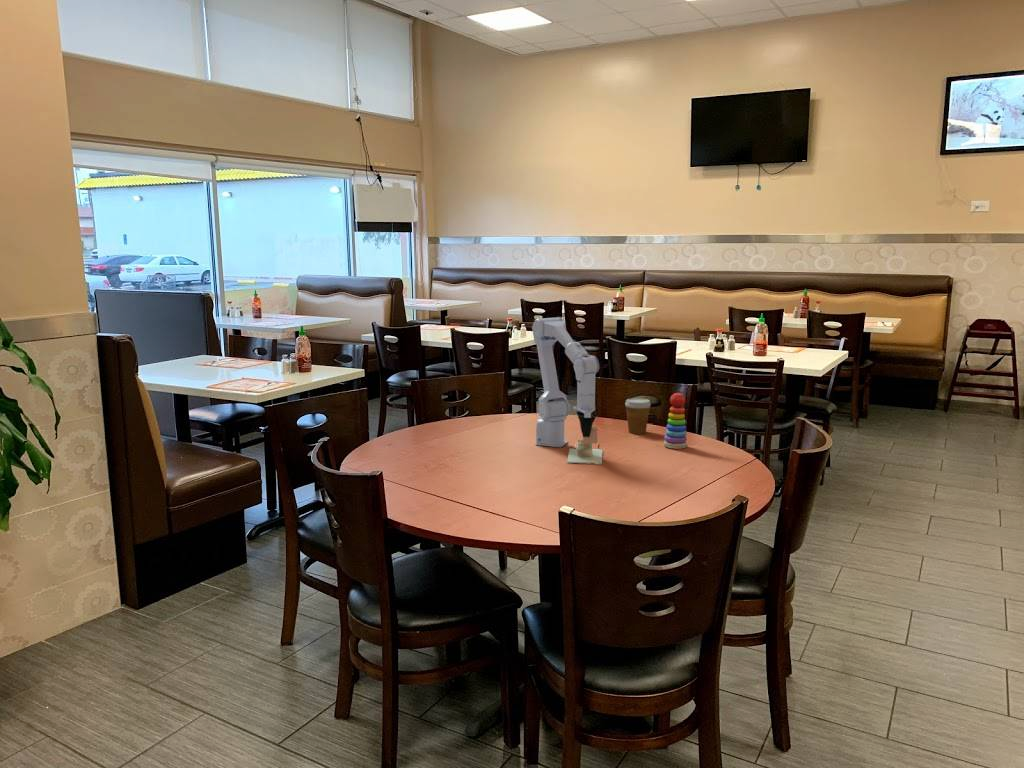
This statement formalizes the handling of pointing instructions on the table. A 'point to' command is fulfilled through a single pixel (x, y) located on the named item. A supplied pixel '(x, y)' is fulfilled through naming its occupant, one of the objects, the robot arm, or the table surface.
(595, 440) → the pinkish tan cube
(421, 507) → the table surface
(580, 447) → the beech block
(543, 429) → the robot arm
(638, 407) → the disposable coffee cup
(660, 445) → the table surface
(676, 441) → the stacking toy
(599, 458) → the plate
